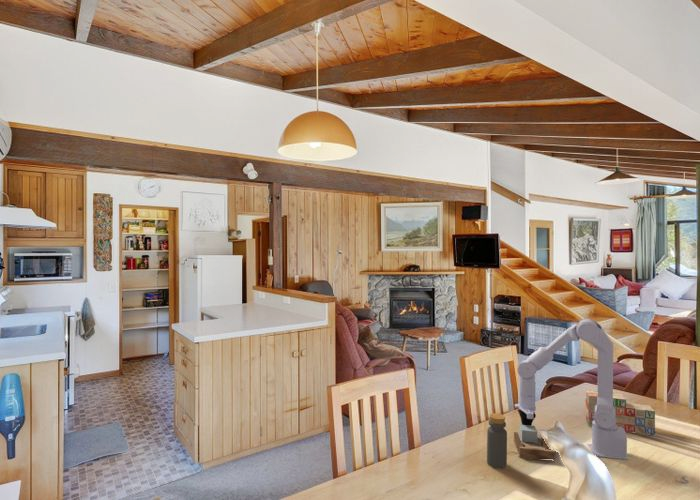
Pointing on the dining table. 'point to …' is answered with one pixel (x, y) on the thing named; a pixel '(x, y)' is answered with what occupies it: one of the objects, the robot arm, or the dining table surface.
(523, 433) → the block
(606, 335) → the robot arm
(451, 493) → the dining table surface
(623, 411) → the stack of blocks
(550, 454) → the holder
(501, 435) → the bottle
